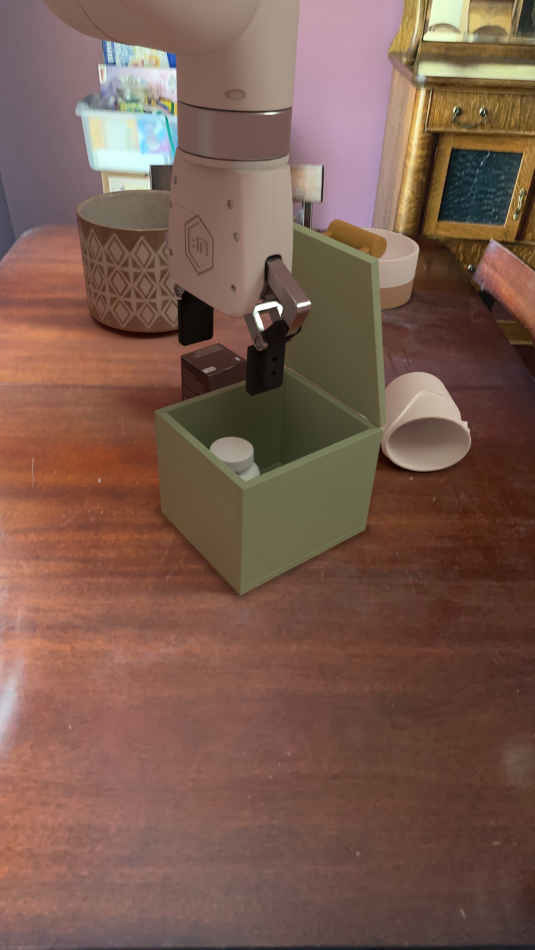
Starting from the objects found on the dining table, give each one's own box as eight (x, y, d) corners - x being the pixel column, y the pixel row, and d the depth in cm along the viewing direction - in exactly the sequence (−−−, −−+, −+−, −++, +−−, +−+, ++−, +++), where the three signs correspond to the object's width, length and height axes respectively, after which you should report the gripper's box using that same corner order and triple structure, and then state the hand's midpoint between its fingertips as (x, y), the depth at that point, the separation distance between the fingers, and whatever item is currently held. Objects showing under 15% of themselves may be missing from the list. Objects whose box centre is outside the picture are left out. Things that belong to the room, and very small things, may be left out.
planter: (65, 328, 102) (48, 216, 92) (126, 283, 117) (118, 183, 107) (182, 352, 98) (178, 237, 88) (230, 302, 112) (232, 199, 102)
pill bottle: (242, 505, 70) (244, 426, 64) (267, 537, 66) (272, 457, 60) (194, 520, 68) (191, 440, 62) (217, 554, 64) (216, 472, 58)
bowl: (411, 315, 111) (420, 265, 106) (307, 304, 113) (312, 255, 108) (410, 277, 125) (418, 231, 120) (318, 268, 126) (322, 222, 121)
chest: (240, 596, 61) (243, 489, 53) (160, 511, 70) (153, 410, 62) (365, 530, 69) (383, 429, 61) (280, 461, 77) (286, 366, 70)
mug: (446, 429, 84) (459, 372, 79) (462, 475, 77) (479, 415, 72) (350, 425, 84) (358, 368, 79) (357, 471, 77) (367, 411, 72)
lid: (370, 263, 49) (426, 230, 51) (255, 211, 58) (307, 185, 60) (380, 427, 61) (425, 395, 63) (283, 364, 69) (326, 337, 71)
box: (219, 392, 89) (219, 341, 85) (247, 412, 85) (249, 360, 81) (181, 406, 86) (178, 354, 81) (208, 427, 82) (208, 374, 78)
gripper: (122, 114, 48) (135, 334, 59) (267, 167, 38) (253, 426, 48) (209, 109, 52) (208, 317, 62) (364, 156, 42) (332, 398, 52)
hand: (228, 364), depth 55 cm, fingers open, 9 cm apart
